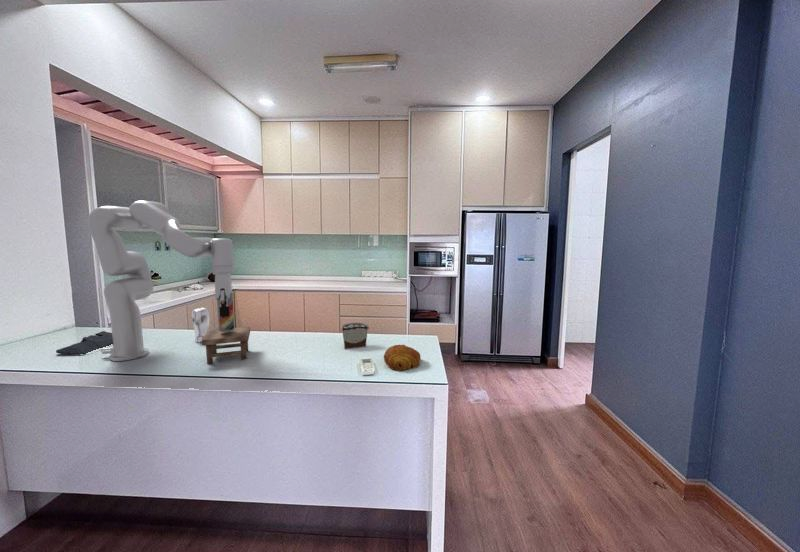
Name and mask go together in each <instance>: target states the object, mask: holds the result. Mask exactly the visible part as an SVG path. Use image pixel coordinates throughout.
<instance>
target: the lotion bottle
mask: <svg viewBox="0 0 800 552" xmlns="http://www.w3.org/2000/svg"><path fill="white" fill-rule="evenodd" d="M224 299H226V297H225V298H224ZM225 301H226V300H225ZM216 305H217V308H216V309H217V322H218V323H217V325H218V329H219V331H220V332H228V331H232V330H234V328H235V313H234V310H235V309H234V294H233V291H232V292H231V293H230V298H229V299H228V306H229V316H228V317H220V296H219V299H218V300H216Z"/></svg>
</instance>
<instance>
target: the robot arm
mask: <svg viewBox="0 0 800 552" xmlns="http://www.w3.org/2000/svg"><path fill="white" fill-rule="evenodd" d="M180 223H181V222H180V220H179V218H176V217H174V216H173V215H171V212H170V210H169V208H168V206H166V205H165V204H164V203H162V202H158V201H152V200H136V201H134V202H132V203H131V204H130V205H129V207H128V206H127V207H126V206H117V205H102V206H99V207H96V208H94V209H93V210H92V211H91V212H90V213H89V214H88V218H87V229H88V231H89V233H90V235H91V238H92V240H93V242H94V246H95V249H96V252H97V255H98V259H99V263H100V267H101V269H102V272H103V273H104V274H105V275H106V276H108V277H109V276H110V277H120V276H126V278H120V279H114V280H112V281H110V282H109V283H107V284H106V285H105V287H104V290H103V294H104V299H105V301H106V304H107V306H108V308H107V309H108V311H109V320H110V328H111V333H112V338H113V345H112V346H110V347H107V348H102V349H101V350H100V352H101V354H102V355H107V354H110V355H109V361H113V362H125V361H131V360H135V359H139V358H142V357H144V356H147V355H149V353H150V350H149V349H148V348H146V347H144V337H143V325H142V315H141V310H140V308H139V306H138V304H137V303H136V301H137V300H139V301H140V300H142V299H145V298H147V297H149V296H150V295H152V294H153V291H154V284H153V280H152V277H151V276H152V274H151V272H150V268H149V264H148V261H147V259H146V258H145V257H144V255H143V254H141V253H140V252H138V251H135V250H133V251H132V250H127V249H126V247H125V243H124V241H123V238H122V237H121V235H120V234H119V233H118V232H117V231H116V229H127V230H128V229H130V230H131V229H141V228H148V229H150V230H151V231H153V232H155V233H157V234H158V235H160V236H162V238H163V240H164V242H165V243H166V244H167V245H168V246H169V247H170V248H171V249H173V250H174V251H176V252H178V253H179V254H181V255H183V256H185V257H188V258H192V259H196V258H205V257H211V267H212V269H211V270H212V274H213V275H214V294H215V295H214V298H215V300H216V301H217V300H218V299H219V296H220V317H228V316H229V306H228V299H229V298H230V293H231V292H232V293H233V291H232V289H233V288H232V287H233V286H232V275H233V274H235V265H234V248H233V247H234V246H233V240H232V239H230V238H227V237H226V238H225V237H221V238H213V237H193V236H191V235H189V234H187V233H186V232H184V231H183V230H181V229H180V226H181V224H180ZM225 297H226V299H224V298H225ZM225 300H226V301H225Z"/></svg>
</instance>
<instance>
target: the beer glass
mask: <svg viewBox="0 0 800 552" xmlns="http://www.w3.org/2000/svg"><path fill="white" fill-rule="evenodd" d="M191 323H192V326H193V330H194V335H195V337H194V342H195V343H197V344H198V343H200V344H202V342H201V340H202V339H203V337H204V336H205V334H206V333H207V331H208V330H210V328H209V327H210V312H209V308H208V307H197V308H193V309H191Z"/></svg>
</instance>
